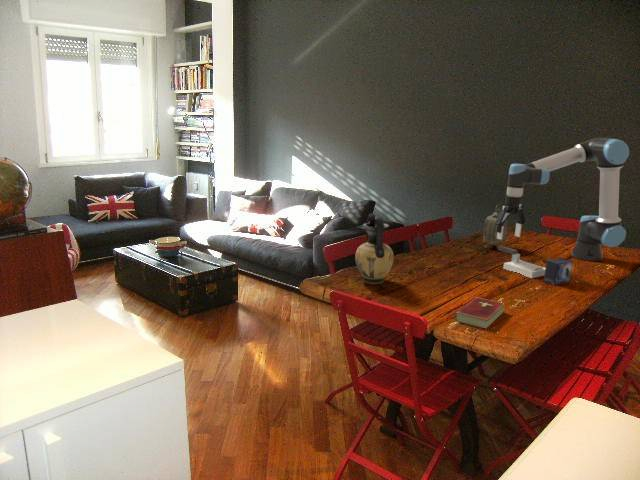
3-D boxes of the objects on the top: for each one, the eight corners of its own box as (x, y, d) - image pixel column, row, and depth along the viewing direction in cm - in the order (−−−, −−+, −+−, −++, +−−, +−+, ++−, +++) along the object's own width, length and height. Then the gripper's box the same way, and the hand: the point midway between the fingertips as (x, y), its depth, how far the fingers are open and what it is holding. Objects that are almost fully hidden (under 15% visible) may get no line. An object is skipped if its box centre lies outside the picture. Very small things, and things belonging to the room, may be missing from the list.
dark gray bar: (494, 257, 273) (495, 246, 271) (502, 256, 276) (503, 245, 274) (534, 270, 253) (536, 258, 252) (542, 269, 256) (544, 257, 255)
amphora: (347, 276, 245) (350, 212, 237) (379, 273, 251) (383, 210, 244) (365, 289, 229) (369, 220, 222) (399, 285, 236) (404, 218, 228)
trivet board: (503, 268, 265) (503, 262, 264) (519, 265, 271) (519, 259, 271) (531, 278, 252) (532, 272, 251) (547, 274, 258) (548, 268, 257)
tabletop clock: (490, 243, 313) (495, 201, 307) (505, 246, 308) (510, 203, 302) (481, 248, 302) (486, 205, 296) (497, 251, 297) (502, 207, 291)
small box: (554, 285, 242) (557, 263, 240) (542, 281, 248) (545, 259, 245) (570, 282, 247) (573, 261, 244) (558, 278, 253) (561, 257, 250)
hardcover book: (454, 321, 199) (455, 311, 197) (474, 305, 215) (475, 296, 214) (486, 330, 192) (487, 319, 191) (504, 313, 209) (505, 303, 208)
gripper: (524, 193, 272) (518, 233, 277) (490, 195, 259) (485, 238, 264) (536, 195, 266) (530, 237, 271) (503, 198, 253) (497, 241, 258)
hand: (508, 237), depth 267 cm, fingers open, 13 cm apart
